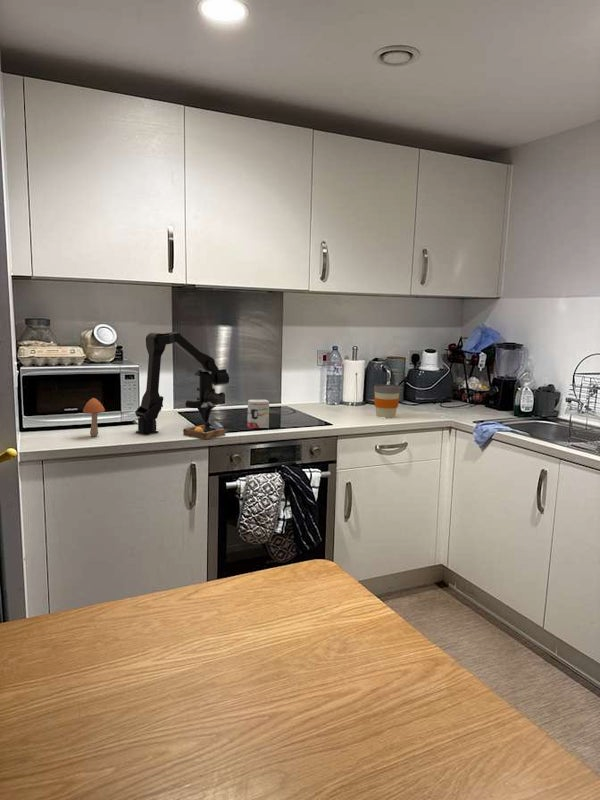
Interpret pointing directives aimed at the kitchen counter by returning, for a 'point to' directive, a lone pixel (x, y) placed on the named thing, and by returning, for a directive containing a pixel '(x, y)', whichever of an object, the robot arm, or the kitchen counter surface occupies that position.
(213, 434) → the wooden tray
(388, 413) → the reusable coffee cup
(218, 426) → the lever
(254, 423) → the ink box
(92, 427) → the mushroom
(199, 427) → the ball
